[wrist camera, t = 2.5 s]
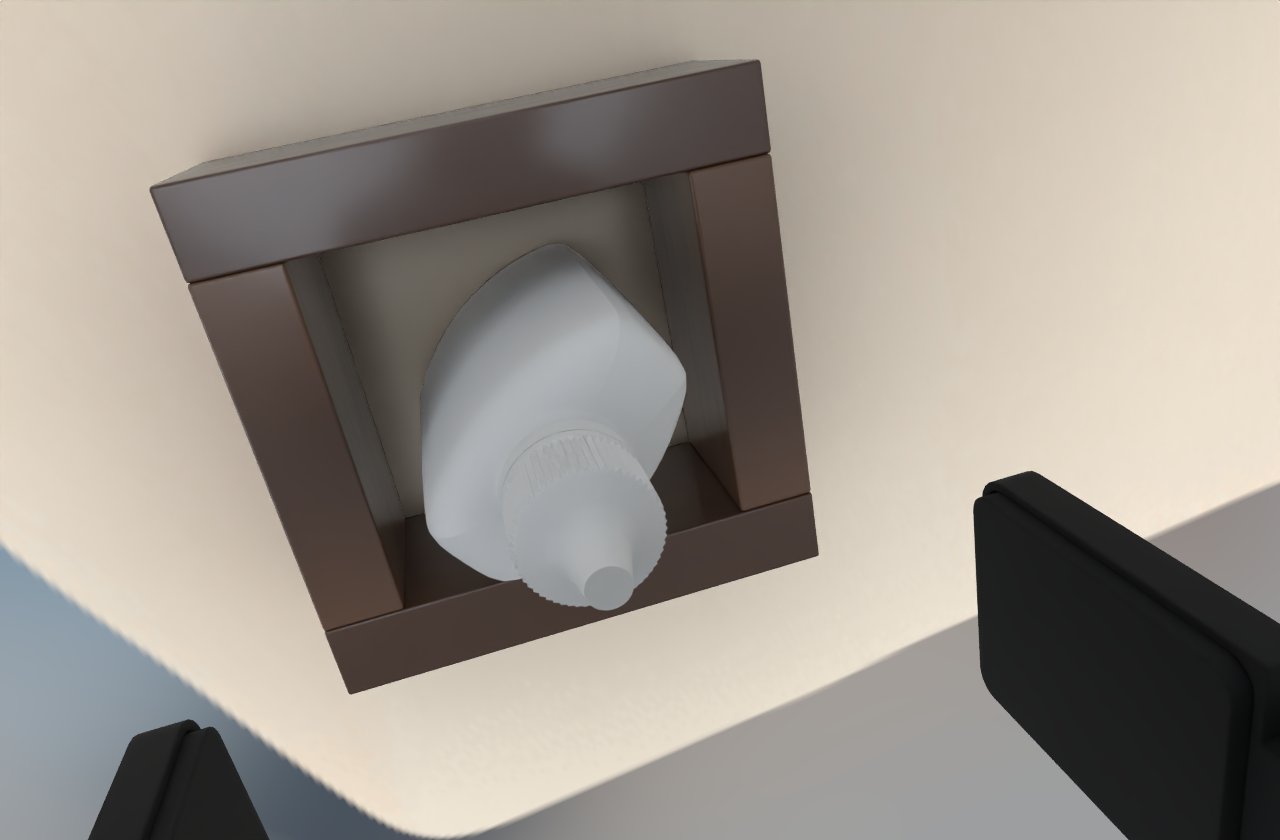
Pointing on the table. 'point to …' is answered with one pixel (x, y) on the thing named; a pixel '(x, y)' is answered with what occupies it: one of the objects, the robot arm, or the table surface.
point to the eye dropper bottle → (550, 432)
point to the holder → (465, 190)
